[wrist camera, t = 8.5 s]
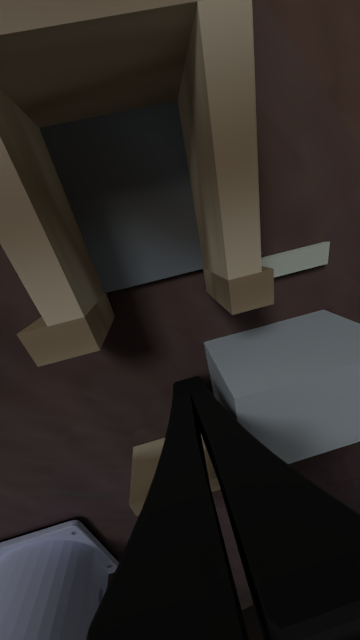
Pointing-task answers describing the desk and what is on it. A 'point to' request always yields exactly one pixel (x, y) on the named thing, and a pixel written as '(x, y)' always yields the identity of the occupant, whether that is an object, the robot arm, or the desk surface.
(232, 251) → the channel
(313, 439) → the grey block
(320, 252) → the rails
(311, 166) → the desk surface
